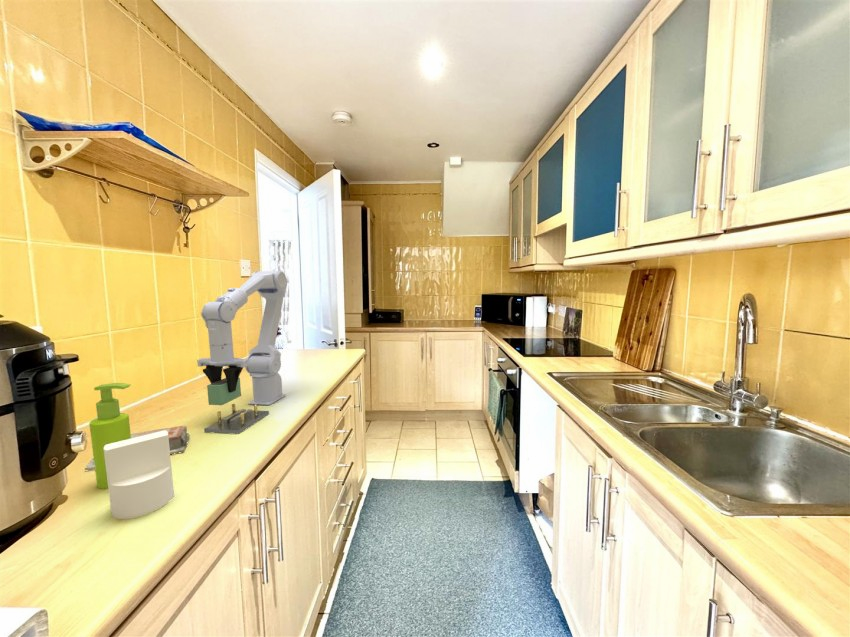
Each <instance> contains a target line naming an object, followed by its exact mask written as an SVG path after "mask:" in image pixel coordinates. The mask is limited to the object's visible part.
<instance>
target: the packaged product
mask: <svg viewBox="0 0 850 637" xmlns="http://www.w3.org/2000/svg"><path fill="white" fill-rule="evenodd" d="M164 430H165V431H167V432H168V438H169V448H170V454H174V453H179V452H185V451H184V450H186V447H187V445H188V443H187V442H189V441H190V440H189V439H190V437H191V436H190V434H189V433H187V431H188V429H187V426H186V425H179V426H174V427H173V426H172V427H166V428H161V429H153V430H147V431H142V432H141V431H140V432H136V433H131V438H135V437H140V436H144V435H148V434H152V433H156V432H160V431H164ZM174 455H175V454H174ZM93 469H95V464H94V457H93V458H92V459H91V460H90V461H89V463H88V464H86V467H84V471H85V470H92V471H94V470H93Z"/></svg>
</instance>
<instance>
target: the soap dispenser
mask: <svg viewBox="0 0 850 637" xmlns="http://www.w3.org/2000/svg"><path fill="white" fill-rule="evenodd" d="M130 386H131V384H129V383H122V382H113V383H112V382H111V383H106V384H105V383H103V384H100V385H97V386H95V387H93V390H94V391H100V392H99V393H100V400H99V401H98V402H96V403H95V408H96V418H94V419H92V420H90V421H89V423H88V424H89V431H90V439H91V440H90V441H91V446H92V447H91V448H92V455H93V458H94V464H95V470H94V471H95V478H96V479H95V481H96V487H97V488H98V489H102V490H106V489H108V481H107V473H106V464H105V456H104V446H105V445H107V444H111V443H115V442H119V441H123V440H127V439H131V434H132V433H131V427H130V418H129V413H124V412H123V413H121V410H120V402H119V399H118V398H115V397H113V390H112V389H114V390H117V389H118V390H125V389H127V388H129V387H130ZM108 490H109V489H108Z"/></svg>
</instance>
